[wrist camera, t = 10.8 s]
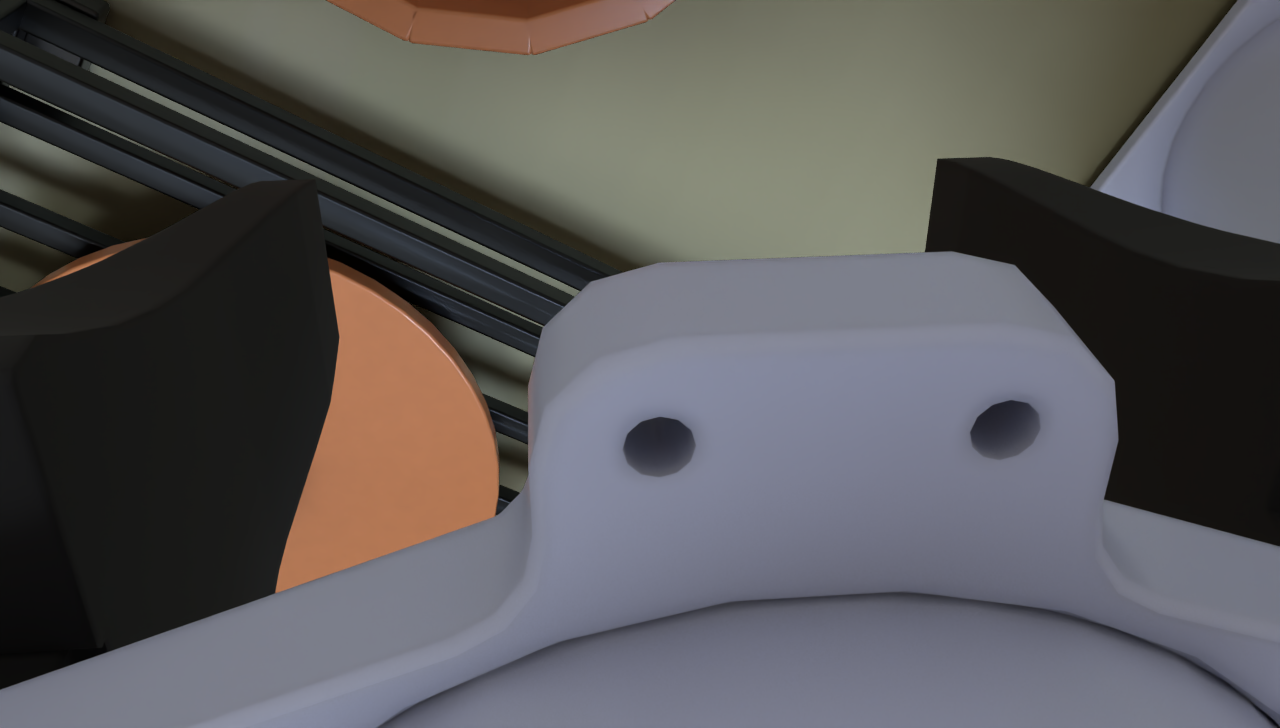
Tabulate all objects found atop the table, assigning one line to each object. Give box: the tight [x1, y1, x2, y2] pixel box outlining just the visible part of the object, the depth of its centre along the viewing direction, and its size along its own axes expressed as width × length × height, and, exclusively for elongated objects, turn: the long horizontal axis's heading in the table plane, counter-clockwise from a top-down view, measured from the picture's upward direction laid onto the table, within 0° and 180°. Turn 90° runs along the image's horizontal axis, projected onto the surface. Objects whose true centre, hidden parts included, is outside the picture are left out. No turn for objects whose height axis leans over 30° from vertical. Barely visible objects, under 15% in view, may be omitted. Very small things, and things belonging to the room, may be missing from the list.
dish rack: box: [0, 0, 624, 515], centre depth 25 cm, size 21×14×6 cm, turn 60°
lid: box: [31, 238, 499, 593], centre depth 23 cm, size 11×11×5 cm
